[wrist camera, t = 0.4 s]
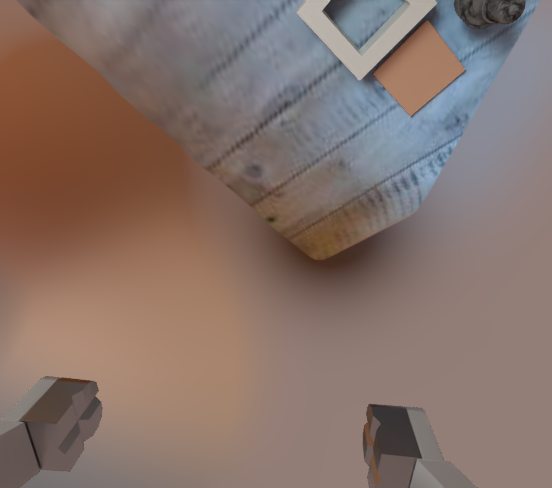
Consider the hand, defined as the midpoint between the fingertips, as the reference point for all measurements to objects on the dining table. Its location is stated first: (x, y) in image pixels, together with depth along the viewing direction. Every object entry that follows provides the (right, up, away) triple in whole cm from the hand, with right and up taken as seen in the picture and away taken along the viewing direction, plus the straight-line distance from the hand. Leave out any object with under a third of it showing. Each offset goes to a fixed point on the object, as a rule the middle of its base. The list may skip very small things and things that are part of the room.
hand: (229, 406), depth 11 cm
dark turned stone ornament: (+27, +36, +34) cm, 57 cm away
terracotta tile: (+22, +30, +40) cm, 55 cm away
